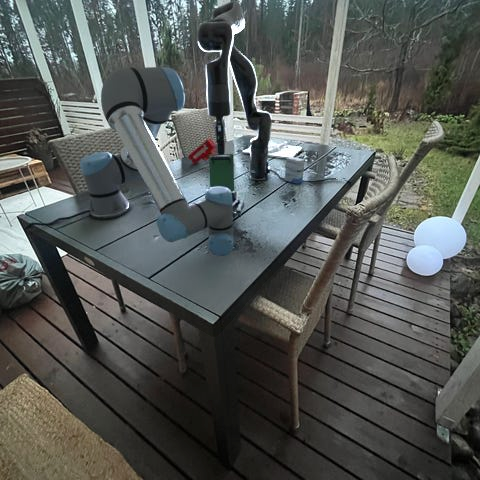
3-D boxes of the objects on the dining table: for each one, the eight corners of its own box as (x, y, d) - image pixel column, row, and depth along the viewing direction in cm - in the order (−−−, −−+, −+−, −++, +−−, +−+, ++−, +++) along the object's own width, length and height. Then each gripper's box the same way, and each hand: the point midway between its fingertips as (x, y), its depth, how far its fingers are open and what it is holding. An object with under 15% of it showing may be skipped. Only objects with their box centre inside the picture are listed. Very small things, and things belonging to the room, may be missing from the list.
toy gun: (225, 158, 166) (210, 137, 162) (223, 160, 163) (207, 139, 159) (205, 174, 176) (191, 154, 172) (202, 176, 173) (188, 156, 169)
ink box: (302, 181, 142) (305, 159, 136) (297, 184, 139) (300, 161, 133) (289, 177, 147) (291, 156, 141) (284, 180, 144) (285, 158, 138)
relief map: (291, 159, 177) (291, 151, 174) (243, 153, 190) (243, 145, 187) (302, 149, 197) (303, 142, 194) (258, 144, 211) (258, 137, 208)
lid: (209, 155, 105) (207, 149, 97) (233, 154, 105) (233, 148, 97) (210, 191, 106) (208, 188, 98) (234, 191, 106) (234, 188, 98)
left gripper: (190, 232, 93) (196, 204, 112) (254, 230, 94) (249, 203, 113) (187, 213, 89) (194, 187, 108) (254, 211, 90) (249, 186, 109)
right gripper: (208, 97, 95) (211, 147, 104) (205, 102, 83) (209, 158, 92) (229, 97, 95) (231, 146, 104) (230, 101, 83) (232, 157, 92)
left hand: (222, 195), depth 111 cm, fingers closed on chest, 9 cm apart
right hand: (221, 151), depth 98 cm, fingers open, 4 cm apart
